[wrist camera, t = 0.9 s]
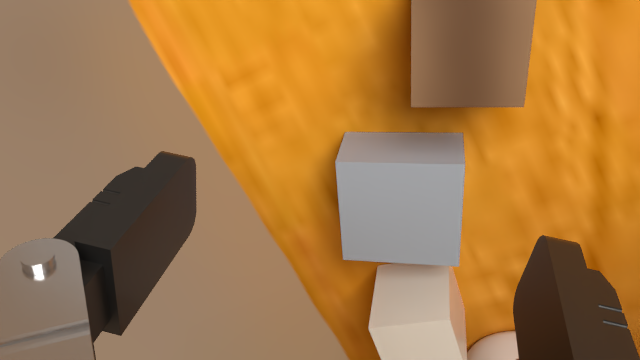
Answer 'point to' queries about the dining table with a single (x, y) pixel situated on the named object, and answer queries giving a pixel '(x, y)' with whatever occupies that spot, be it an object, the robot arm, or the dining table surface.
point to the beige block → (417, 313)
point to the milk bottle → (495, 347)
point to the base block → (401, 196)
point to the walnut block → (470, 52)
